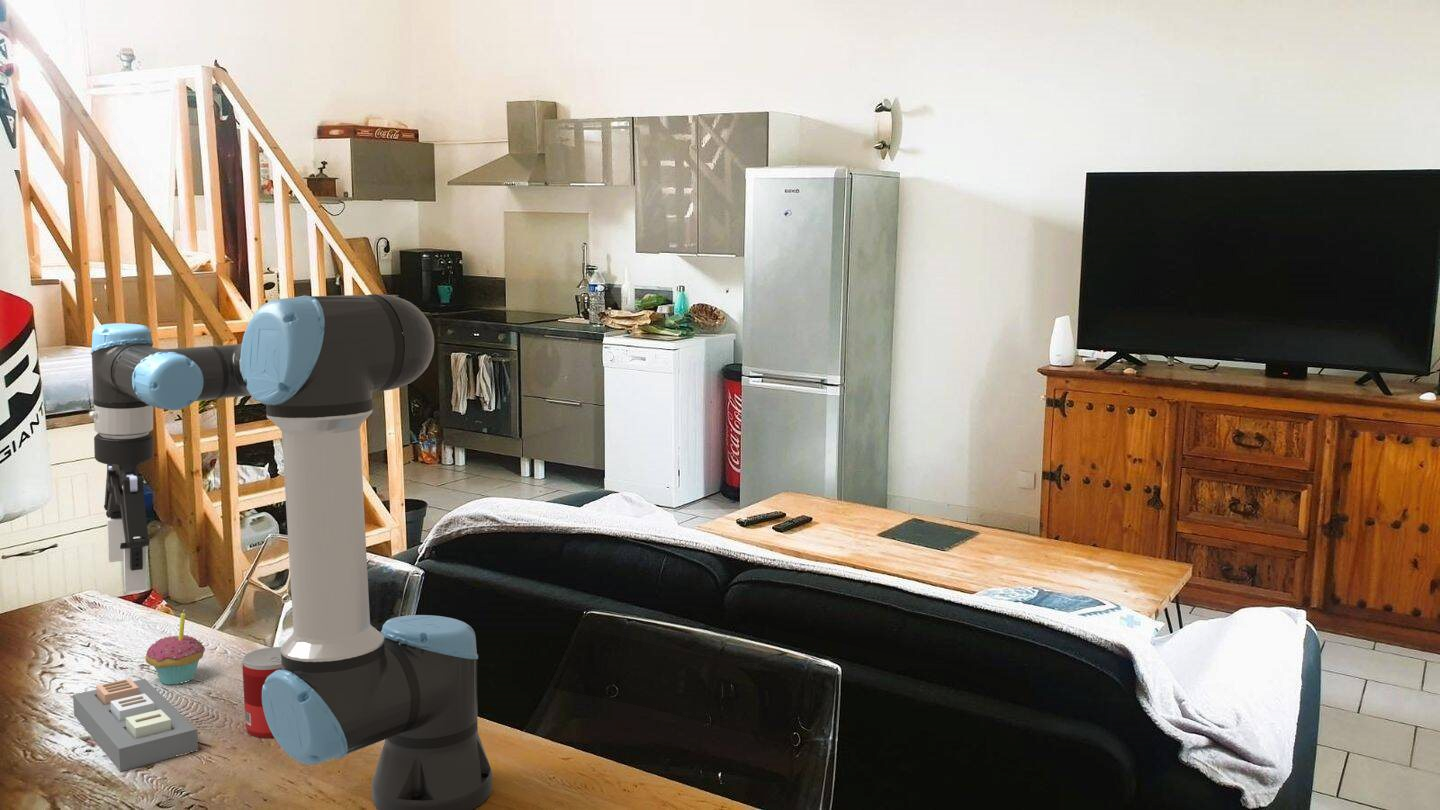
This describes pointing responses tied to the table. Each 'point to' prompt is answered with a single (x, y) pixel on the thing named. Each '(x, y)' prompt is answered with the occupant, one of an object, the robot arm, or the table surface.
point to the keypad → (121, 743)
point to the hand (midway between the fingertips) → (126, 575)
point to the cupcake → (175, 656)
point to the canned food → (258, 687)
